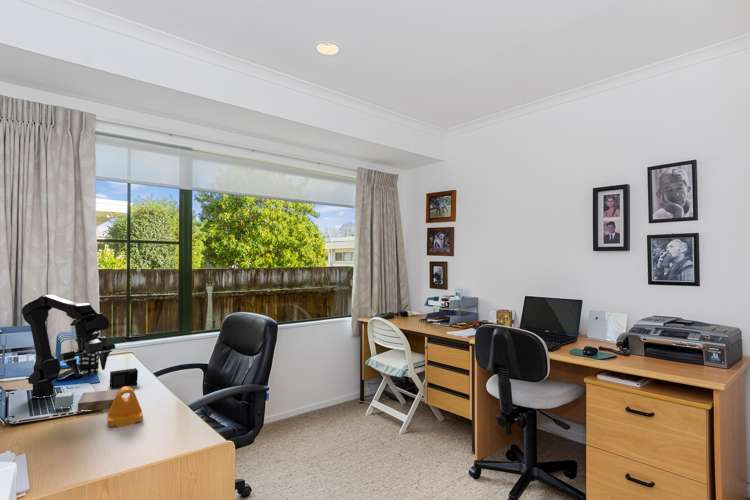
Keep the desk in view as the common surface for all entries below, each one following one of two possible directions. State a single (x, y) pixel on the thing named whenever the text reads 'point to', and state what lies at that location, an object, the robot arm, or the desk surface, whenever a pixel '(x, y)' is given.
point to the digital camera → (123, 378)
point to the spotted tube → (89, 361)
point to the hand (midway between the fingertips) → (91, 373)
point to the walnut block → (97, 400)
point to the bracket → (124, 409)
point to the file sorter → (58, 348)
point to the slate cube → (64, 399)
